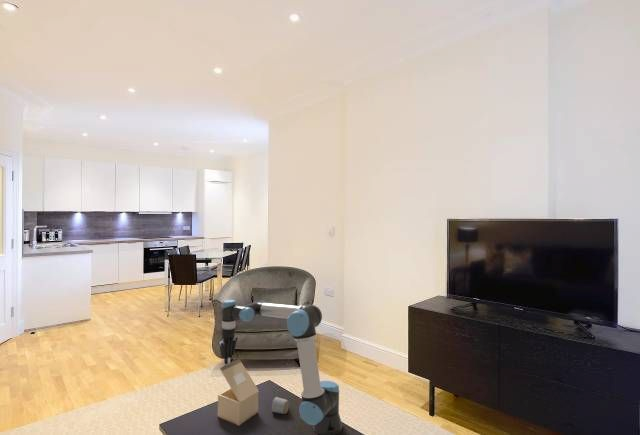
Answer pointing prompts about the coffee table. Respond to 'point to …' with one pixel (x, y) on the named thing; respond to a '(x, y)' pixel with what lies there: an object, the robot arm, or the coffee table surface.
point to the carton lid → (239, 380)
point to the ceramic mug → (280, 405)
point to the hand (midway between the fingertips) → (227, 368)
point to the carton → (236, 407)
